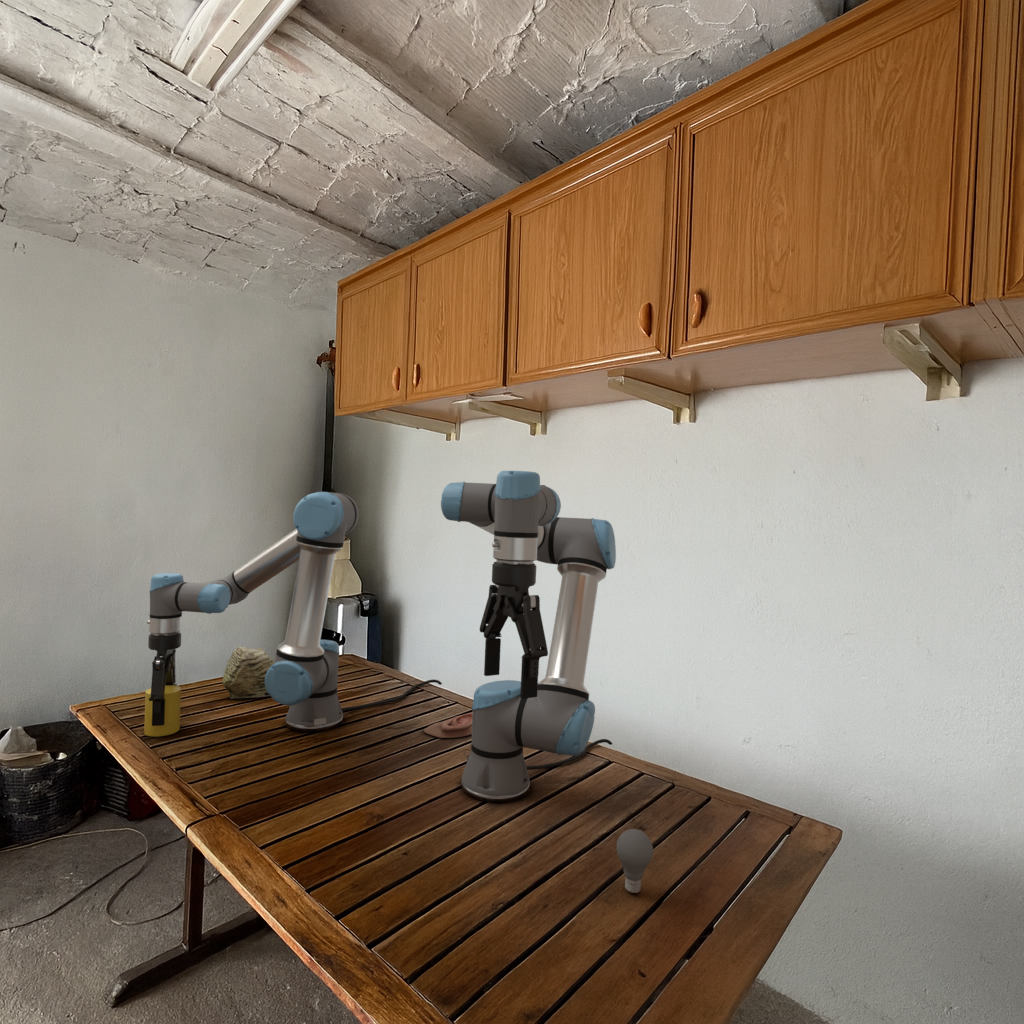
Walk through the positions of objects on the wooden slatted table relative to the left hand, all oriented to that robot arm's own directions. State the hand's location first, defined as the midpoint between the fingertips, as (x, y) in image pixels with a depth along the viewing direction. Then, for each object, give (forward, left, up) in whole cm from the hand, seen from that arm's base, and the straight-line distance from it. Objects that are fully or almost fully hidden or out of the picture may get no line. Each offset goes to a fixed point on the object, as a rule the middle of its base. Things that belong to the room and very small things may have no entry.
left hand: (162, 718), depth 166 cm
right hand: (-12, +106, +30) cm, 111 cm away
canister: (0, 0, -3) cm, 3 cm away
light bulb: (-23, +125, -3) cm, 127 cm away
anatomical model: (-53, +53, -3) cm, 75 cm away
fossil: (-32, -11, -3) cm, 34 cm away
